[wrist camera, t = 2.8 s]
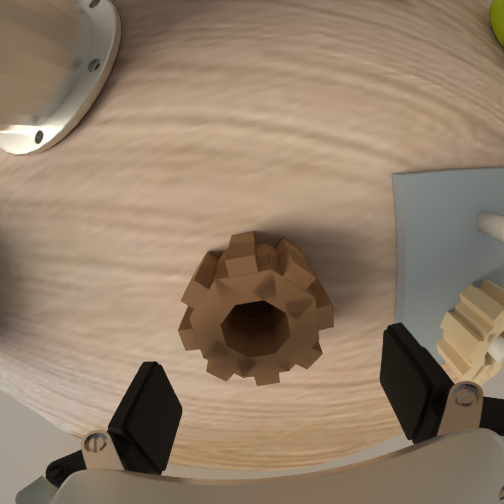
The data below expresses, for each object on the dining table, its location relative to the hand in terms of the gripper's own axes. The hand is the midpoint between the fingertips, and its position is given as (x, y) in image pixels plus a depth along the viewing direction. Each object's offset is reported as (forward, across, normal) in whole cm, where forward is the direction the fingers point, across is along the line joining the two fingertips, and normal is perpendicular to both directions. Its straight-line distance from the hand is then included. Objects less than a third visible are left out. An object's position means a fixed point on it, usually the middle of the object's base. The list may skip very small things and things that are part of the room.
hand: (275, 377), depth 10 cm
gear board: (+7, -15, +1) cm, 17 cm away
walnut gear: (+6, +1, -1) cm, 6 cm away
